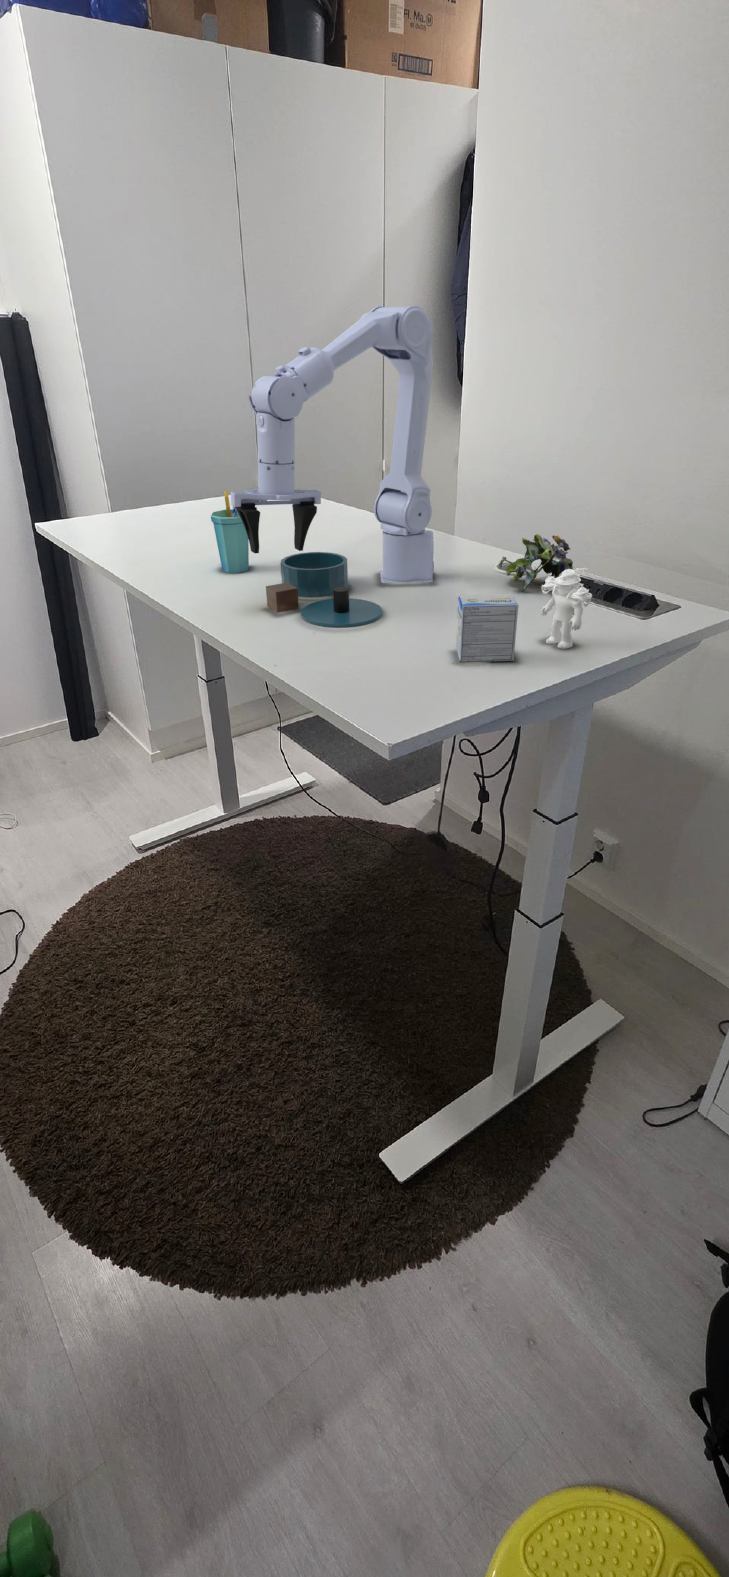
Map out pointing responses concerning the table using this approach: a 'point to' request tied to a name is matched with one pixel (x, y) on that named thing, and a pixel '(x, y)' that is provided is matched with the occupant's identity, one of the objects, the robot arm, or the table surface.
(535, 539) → the passion flower
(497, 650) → the medicine box
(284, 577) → the pot
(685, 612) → the table surface
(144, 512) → the table surface
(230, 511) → the cup
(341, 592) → the lid
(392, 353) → the robot arm
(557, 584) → the hat wearing toy figure
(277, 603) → the block
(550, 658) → the table surface
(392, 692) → the table surface
